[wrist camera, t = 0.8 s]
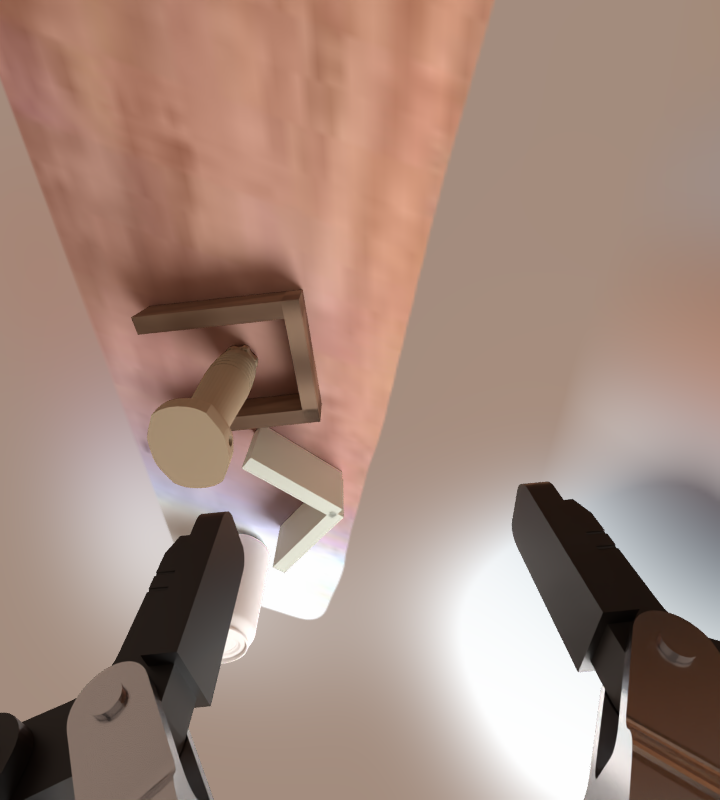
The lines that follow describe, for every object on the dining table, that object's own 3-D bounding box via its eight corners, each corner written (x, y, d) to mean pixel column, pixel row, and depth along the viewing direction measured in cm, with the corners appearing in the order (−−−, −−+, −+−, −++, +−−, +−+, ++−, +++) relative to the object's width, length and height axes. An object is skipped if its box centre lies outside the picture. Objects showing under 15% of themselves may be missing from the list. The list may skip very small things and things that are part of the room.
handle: (223, 388, 39) (164, 489, 26) (210, 327, 36) (135, 407, 23) (271, 386, 39) (236, 486, 26) (262, 326, 36) (217, 404, 23)
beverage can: (247, 578, 53) (224, 673, 43) (196, 553, 51) (158, 649, 40) (283, 548, 51) (268, 642, 40) (231, 520, 48) (200, 612, 37)
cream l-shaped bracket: (251, 424, 41) (238, 459, 36) (333, 416, 41) (332, 449, 36) (281, 532, 49) (274, 573, 44) (350, 525, 49) (351, 565, 44)
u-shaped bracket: (149, 306, 35) (131, 317, 32) (302, 289, 35) (298, 299, 31) (190, 417, 40) (178, 436, 37) (321, 403, 40) (320, 421, 37)
